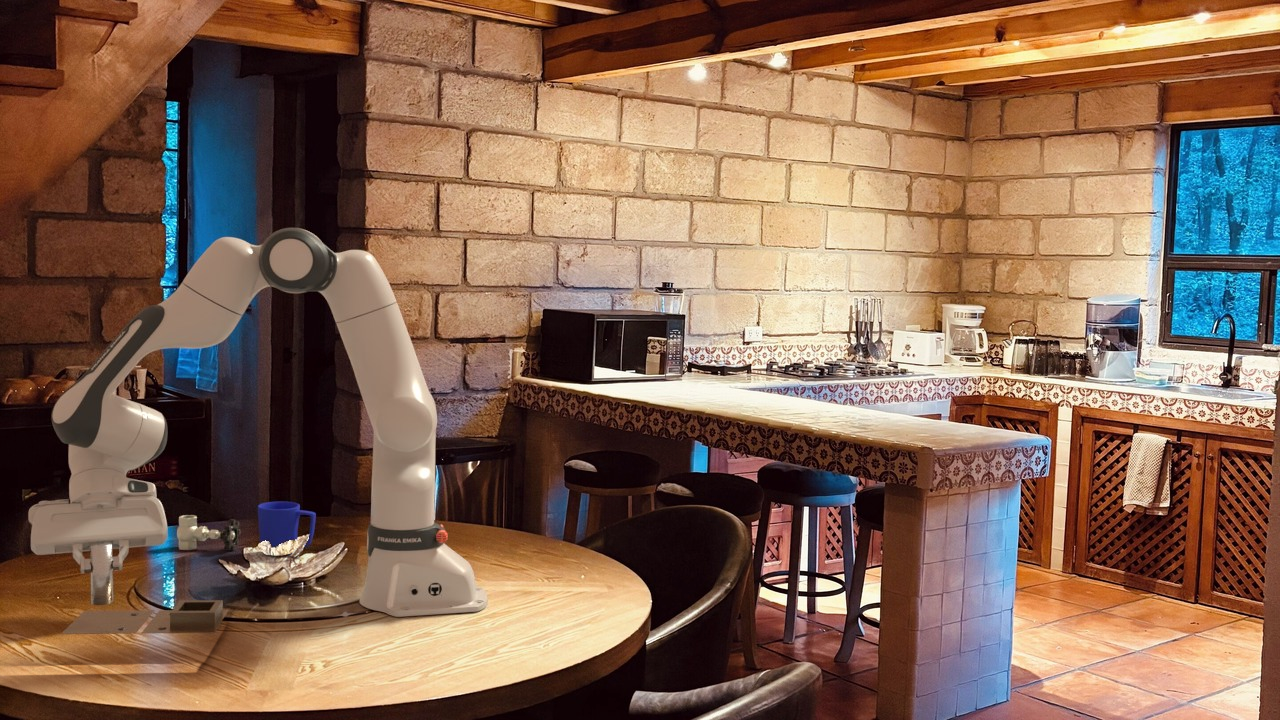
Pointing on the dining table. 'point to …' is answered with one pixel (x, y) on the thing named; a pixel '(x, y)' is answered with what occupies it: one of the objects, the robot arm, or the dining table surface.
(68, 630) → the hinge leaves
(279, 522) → the mug
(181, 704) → the dining table surface
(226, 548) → the valve
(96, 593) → the pin
